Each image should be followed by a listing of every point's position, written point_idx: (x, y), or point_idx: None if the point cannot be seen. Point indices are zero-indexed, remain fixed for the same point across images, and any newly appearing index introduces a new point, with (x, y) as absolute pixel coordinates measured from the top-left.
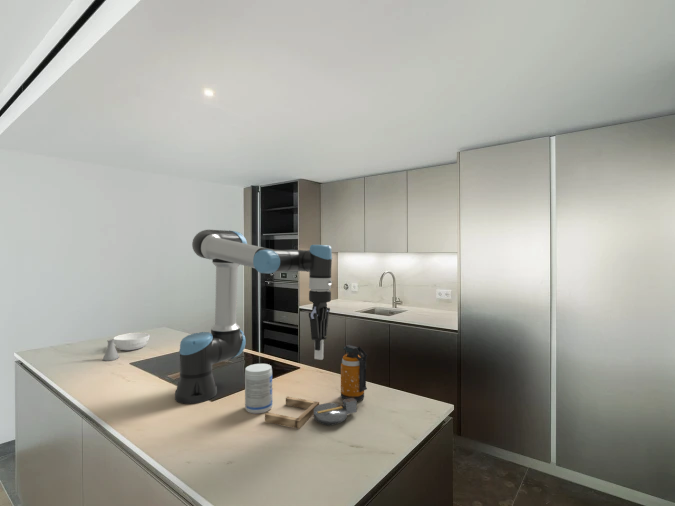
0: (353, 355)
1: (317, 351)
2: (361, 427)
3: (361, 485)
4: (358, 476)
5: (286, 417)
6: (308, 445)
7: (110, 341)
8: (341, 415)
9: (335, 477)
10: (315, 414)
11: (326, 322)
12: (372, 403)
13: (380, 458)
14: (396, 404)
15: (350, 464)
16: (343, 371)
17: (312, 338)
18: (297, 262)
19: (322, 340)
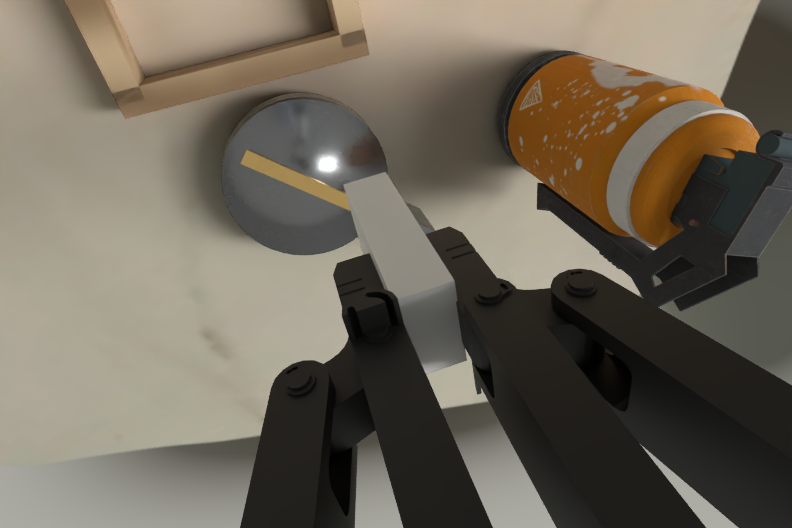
0: (686, 223)
1: (367, 252)
2: (332, 288)
3: (72, 451)
4: (95, 428)
5: (89, 24)
6: (74, 232)
7: None
8: (298, 252)
9: (30, 400)
10: (225, 154)
11: (726, 514)
12: (528, 210)
13: (215, 415)
14: (553, 277)
15: (120, 388)
16: (583, 141)
17: (276, 400)
18: None
19: (429, 372)
